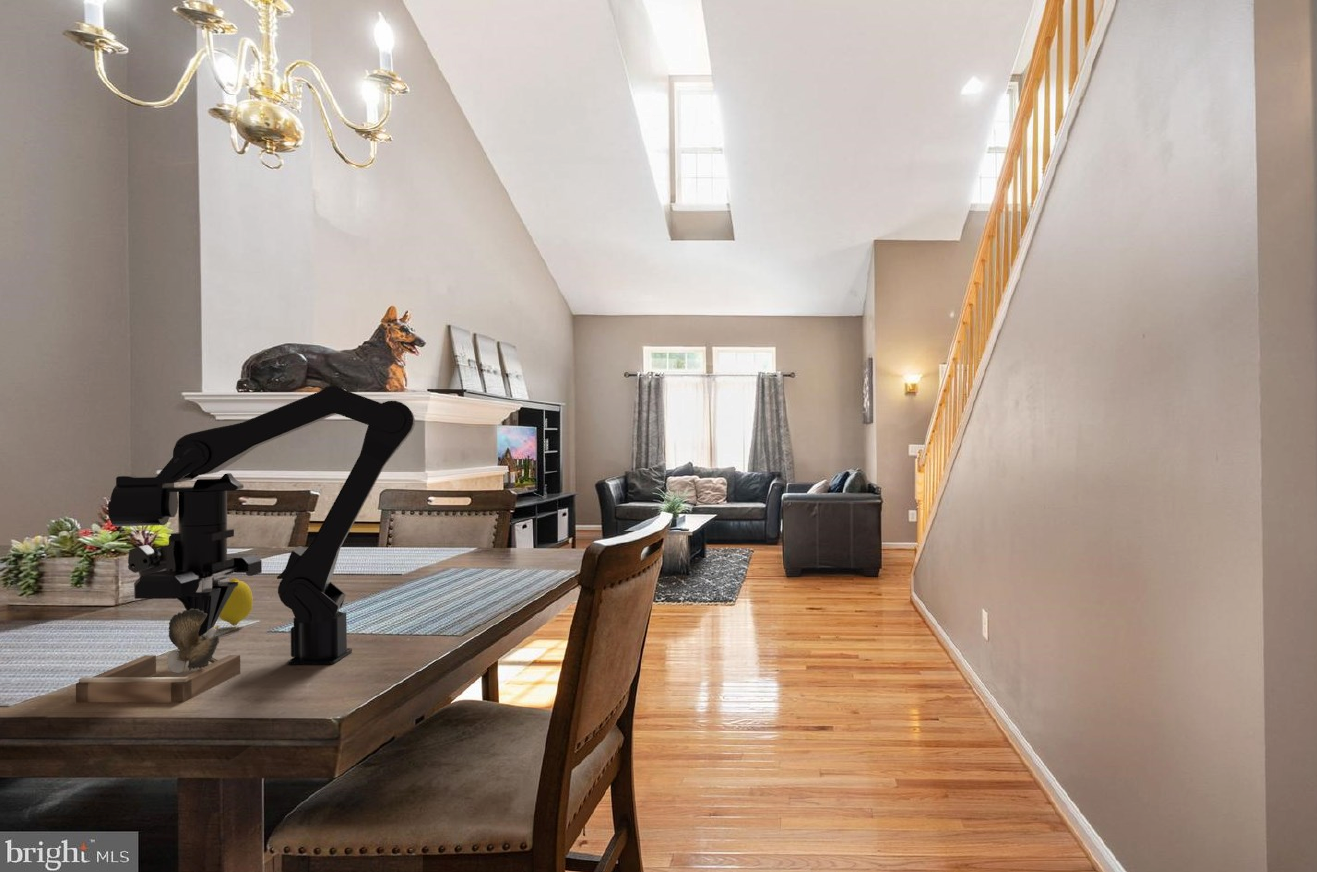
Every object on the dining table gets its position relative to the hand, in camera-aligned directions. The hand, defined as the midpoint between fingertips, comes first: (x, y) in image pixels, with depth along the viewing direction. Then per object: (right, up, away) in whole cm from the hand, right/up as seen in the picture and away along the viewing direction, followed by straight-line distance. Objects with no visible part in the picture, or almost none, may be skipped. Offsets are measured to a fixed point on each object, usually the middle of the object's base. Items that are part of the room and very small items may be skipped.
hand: (203, 637), depth 103 cm
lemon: (-9, -5, +24) cm, 26 cm away
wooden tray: (0, -4, -7) cm, 9 cm away
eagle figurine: (+1, -2, -2) cm, 2 cm away
